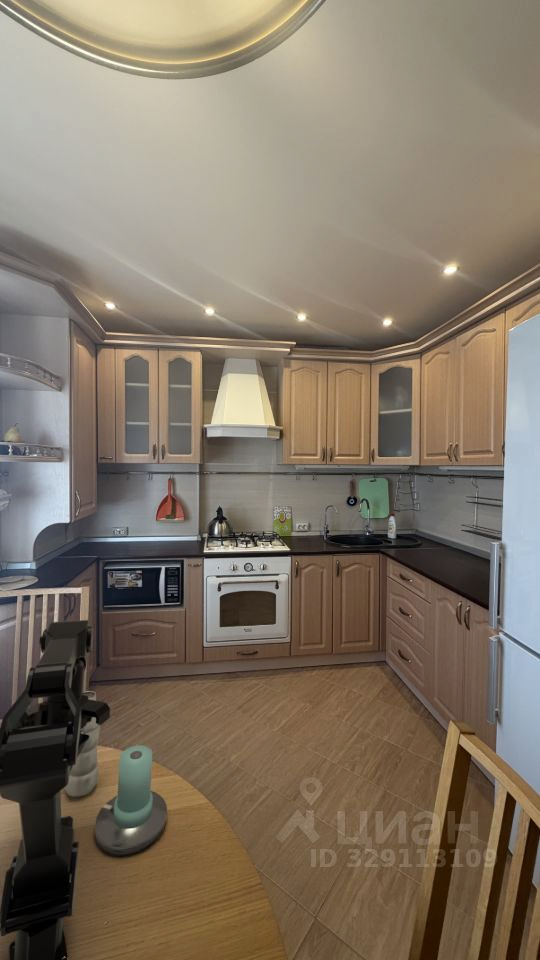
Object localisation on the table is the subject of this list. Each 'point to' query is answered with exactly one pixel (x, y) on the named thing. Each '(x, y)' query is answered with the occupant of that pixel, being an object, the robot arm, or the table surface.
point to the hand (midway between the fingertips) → (59, 785)
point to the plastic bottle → (85, 760)
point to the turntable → (133, 837)
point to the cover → (134, 788)
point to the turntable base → (129, 852)
